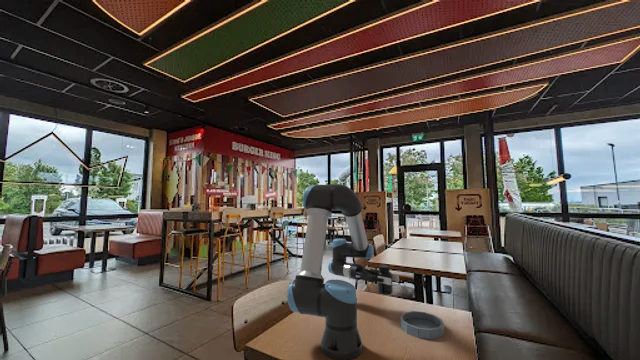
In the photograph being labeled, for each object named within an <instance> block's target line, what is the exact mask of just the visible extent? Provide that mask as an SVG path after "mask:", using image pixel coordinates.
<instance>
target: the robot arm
mask: <svg viewBox="0 0 640 360" xmlns="http://www.w3.org/2000/svg"><path fill="white" fill-rule="evenodd" d="M302 205H303V208H304V210H305V213H306V214H307V215H308V218H307V225H306V229H305V230H306V231H305V237H304V245H303V251H302V258H301V263H300V271H299V272H298V273H297V274H296V275H295V278H294V279H292V280H291V281H290V282H289V285H288V287H287V291H286V294H287V295H286V299H287V304H288V307H289V309H290V310H291V311H292V312H294V313H296V314H297V313H299V314H300V315H309V316H313V317H314V316H315V317H321V318H324V319H325V325H324V326H325V327H324V330H323V334H322V338H321V341H320V350H321V351H322V353H323V354H324V355H325V356H326V357H328V358H330V359H333V360H352V359H355V358H358V357H359V355H361V354H362V352H363V341H362V338H361V335H360V331H359V328H358V310H357V309H358V306H357V304H358V303H357V302H358V297H357V289H356V287H355V286H354V285H353V284H352V283H351V282H348V281H346V280H343V279H328V280H327V281H326V282H325V278H324V277H323V275H322V270H323V263H324V262H323V261H324V252H325V251H324V250H325V243H326V235H327V227H328V219H329V218H330V217H331V216H332V215H333V214H332V213H333V211H341V214H342V215H343V216H344V217H345V221H346V224H347V228H348V230H349V235H350V238H351V241H352V242H348V241H347V239H346V238H334V239H333V240H332V246H331V247H332V259H331V260H330V261H329V262H328V266H327V269H328V272H329V273H330V274H332V275H334V276H340V277H342V278H348V279H349V280H351V279H353V280H355V281H365V282H369V283H371V284H376V285H378V282H379V283H383V284H388V285H391V278H386V277H381V276H378V278H377V273H378V272H379V271H380V270H379V269H374V268H369V269H368V268H364V266H363V265H361V264H358V263H352V262H347V258H352V259H355V258H356V259H365V260H368V259H373V257H374V254H375V253H374V252H375V250H374V249H375V247H374V245H373V244H371V243H369V242H368V238H367V237H368V236H367V233H366V229H365V225H364V220H363V216H362V215H363V214H362V212H363V206H362V201H361V200H360V198H359V196H358V194H356V193H355V191H354V190H353V189H351V188H350V187H348V186H347V185H345V184H340V183H336V184H335V183H333V184H318V183H317V184H311V185H309V186H307V187H306V188H305V190H304V192H303V195H302ZM393 281H394V282H398V283H399V282H400V275H397V274H394V273H393V274H392V282H393Z"/></svg>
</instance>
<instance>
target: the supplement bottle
mask: <svg viewBox="0 0 640 360" xmlns="http://www.w3.org/2000/svg"><path fill="white" fill-rule="evenodd" d="M378 270H380V271H379V272H378V273H377V278H378V276H381V277H386V278H391V285H388V284H383V283H379V282H378V281H377V292H378V293H379V294H382V295H391V294H393V292H394V290H393V289H394V288H393V280H392V272H391V271H390V270H391V269H390V266H389V265H384V264H382V265H379V266H378Z"/></svg>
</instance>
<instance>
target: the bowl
mask: <svg viewBox="0 0 640 360" xmlns="http://www.w3.org/2000/svg"><path fill="white" fill-rule="evenodd" d="M400 328H401V330H402V331H403V332H405V333H406V334H407V335H409V336H413V337H415V338H418V339H424V340H425V339H426V340H427V339H428V340H434V339H440V338H442V337H443V336H444V335H445V323H444V320H443V319H442V318H440V317H438V316H437V315H435V314H432V313H429V312H426V311H416V310H415V311H414V310H412V311H406V312H404V313H402V314H401V315H400Z"/></svg>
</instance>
